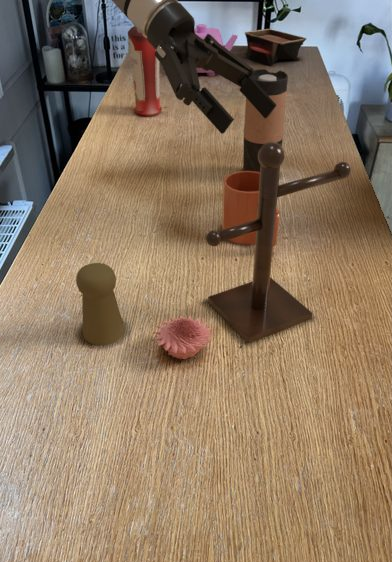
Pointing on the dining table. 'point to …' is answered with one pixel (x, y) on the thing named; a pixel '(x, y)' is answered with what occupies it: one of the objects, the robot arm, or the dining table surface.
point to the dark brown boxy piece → (272, 46)
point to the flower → (183, 336)
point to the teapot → (215, 33)
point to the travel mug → (260, 127)
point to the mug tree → (265, 256)
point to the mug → (242, 204)
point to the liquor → (144, 74)
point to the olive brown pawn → (99, 304)
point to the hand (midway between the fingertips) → (250, 119)
